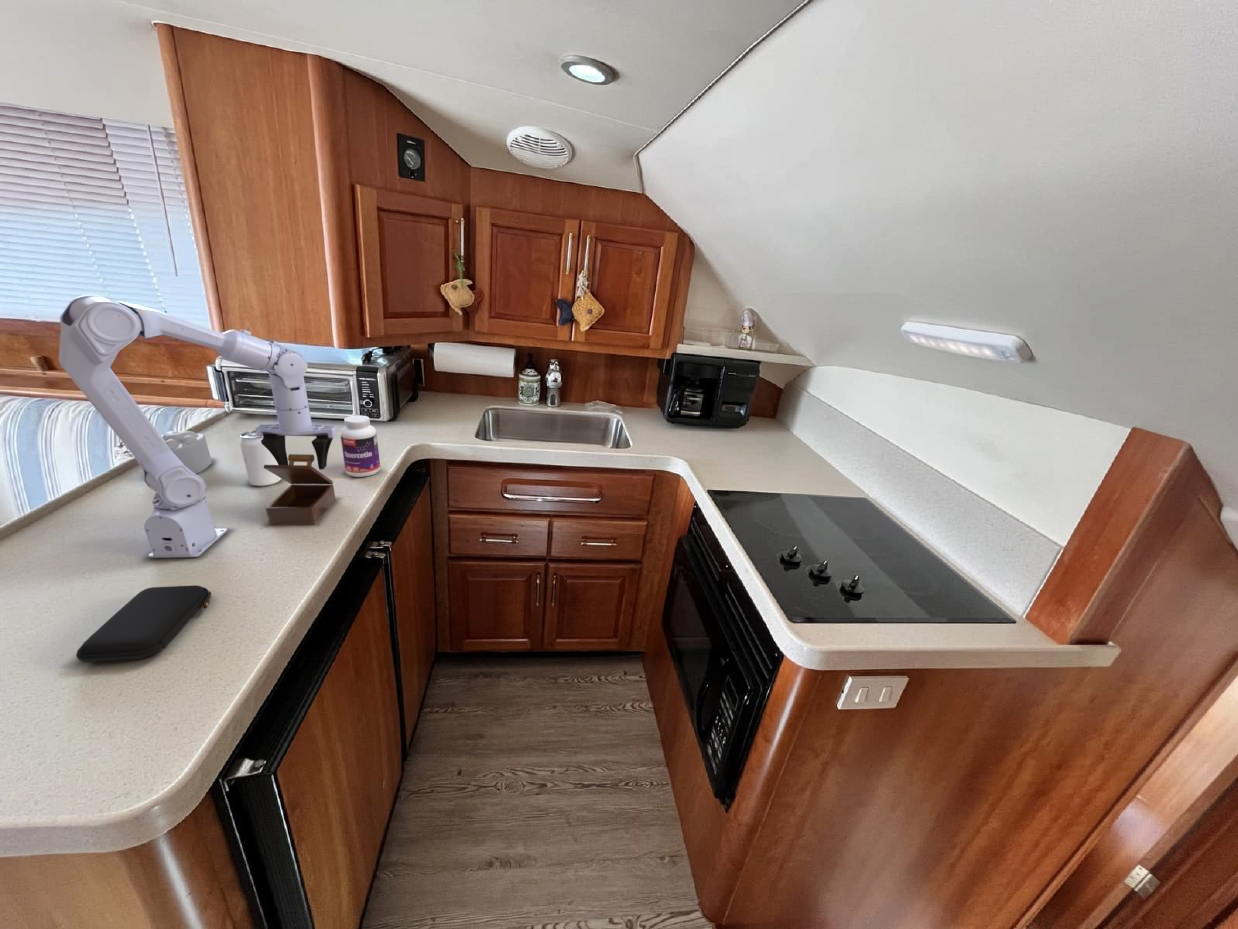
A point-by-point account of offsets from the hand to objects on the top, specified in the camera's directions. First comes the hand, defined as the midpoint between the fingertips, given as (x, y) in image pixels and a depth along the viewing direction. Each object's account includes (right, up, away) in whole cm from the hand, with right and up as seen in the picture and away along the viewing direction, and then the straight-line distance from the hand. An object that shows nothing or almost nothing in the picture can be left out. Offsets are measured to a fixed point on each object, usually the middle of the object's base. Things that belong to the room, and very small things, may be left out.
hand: (303, 467), depth 105 cm
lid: (0, -2, -2) cm, 3 cm away
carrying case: (-1, -24, -33) cm, 41 cm away
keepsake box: (0, -10, +1) cm, 10 cm away
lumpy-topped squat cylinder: (-39, -1, +14) cm, 42 cm away
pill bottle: (+2, -2, +21) cm, 21 cm away
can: (-17, -4, +12) cm, 21 cm away
